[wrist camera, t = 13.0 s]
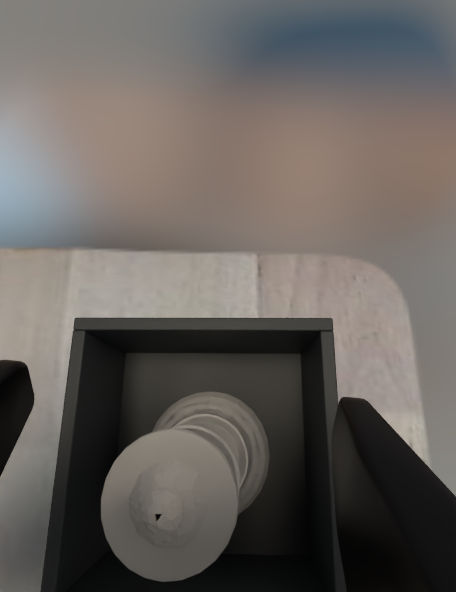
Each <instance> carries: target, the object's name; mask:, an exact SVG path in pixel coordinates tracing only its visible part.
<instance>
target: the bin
mask: <svg viewBox="0 0 456 592" xmlns="http://www.w3.org/2000/svg"><path fill="white" fill-rule="evenodd" d="M211 391H213V392H219V393H225V394H228V395H231V396H233V397H235V398H237V399H239V400H241V401H242V402H243V403H245V404H246V405H247V406H248V407H249V408H251V409H252V410H253V411H254V413H255V414H256V416H257V417H258V419H259V420H260V421H261V423H262V425H263V428H264V430H265V433H266V435H267V438H268V445H269V454H270V456H269V465H268V473H267V477H266V479H265V482H264V484H263V487H262V489H261V492H260V493H259V494H258V496H257V497H256V498H255V500H254V501H253V502H252V504H251V505H250V506H249V507H247V508H246V509H245V510H244V511H242V512H241V513H240V514H238V515H237V522H236V525H235V528H234V530H233V533H232V535H231V538H230V540H229V543H228V545H227V546H226V547H225V549H224V550H223V551H222V553H221V554H220V555H219V557H218V558H217V559H216V561H214V562H213V563H212V564H211V565H209V566H208V567H207V568H206V569H204V570H203V571H202V572H200V573H198V574H196V575H193V576H191V577H188V578H186V579H183V580H178V581H167V582H161V581H156V580H152V579H147V578H144V577H142V576H140V575H139V574H137V573H135V572H133V571H132V570H130V569H128V568H127V567H126V566H125V565H124V564H123V563H122V562H121V561H120V560H119V558H118V557H117V556H116V555H115V554H114V552H113V550H112V548H111V546H110V545H109V543H108V541H107V539H106V537H105V533H104V529H103V525H102V521H101V497H102V492H103V488H104V484H105V480H106V477H107V475H108V473H109V471H110V469H111V467H112V465H113V463H114V461H115V460H116V459H117V458H118V457H119V455H120V454H121V453H122V452H123V451H124V450H125V448H126V447H128V446H129V445H130V444H132V443H133V442H134V441H136V440H137V439H139V438H140V437H141V436H143V435H146V434H149V433H151V432H152V431H153V429H154V427H155V425H156V423H157V421H158V420H159V418H160V417H161V416H162V415H163V414H164V412H165V411H166V410H167V409H168V408H169V407H170V406H172V405H173V404H174V403H176V402H177V401H179V400H180V399H182V398H185V397H187V396H190V395H192V394H195V393H201V392H211ZM337 409H338V394H337V379H336V364H335V349H334V334H333V320H332V318H75V321H74V331H73V337H72V345H71V353H70V361H69V369H68V377H67V385H66V393H65V401H64V409H63V417H62V425H61V433H60V441H59V449H58V457H57V464H56V472H55V480H54V488H53V496H52V504H51V512H50V520H49V528H48V536H47V544H46V552H45V560H44V568H43V576H42V584H41V592H347V590H346V584H345V578H344V572H343V566H342V560H341V555H340V549H339V542H338V535H337V526H336V513H335V496H334V479H333V462H332V444H331V440H332V430H333V426H334V421H335V417H336V413H337Z"/></svg>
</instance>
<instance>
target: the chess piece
mask: <svg viewBox="0 0 456 592" xmlns="http://www.w3.org/2000/svg"><path fill="white" fill-rule="evenodd" d="M269 456H270V454H269V445H268V438H267V435H266V433H265V430H264V428H263V425H262V423H261V421H260V420H259V419H258V417H257V416H256V414H255V413H254V411H253V410H252V409H251V408H249V407H248V406H247V405H246V404H245V403H243V402H242V401H241V400H239V399H237V398H235V397H233V396H231V395H228V394H225V393H219V392H213V391H211V392H201V393H195V394H192V395H190V396H187V397H185V398H182V399H180V400H179V401H177V402H176V403H174V404H173V405H172V406H170V407H169V408H168V409H167V410H166V411H165V412H164V414H163V415H162V416H161V417H160V418H159V420H158V421H157V423H156V425H155V427H154V429H153V431H152V432H151V433H149V434H146V435H143V436H141V437H140V438H139V439H137V440H136V441H134V442H133V443H132V444H130V445H129V446H128V447H126V448H125V450H124V451H123V452H122V453H121V454H120V455H119V457H118V458H117V459H116V460H115V461H114V463H113V465H112V467H111V469H110V471H109V473H108V475H107V477H106V480H105V484H104V488H103V492H102V497H101V521H102V525H103V529H104V533H105V537H106V539H107V541H108V543H109V545H110V546H111V548H112V550H113V552H114V554H115V555H116V556H117V557H118V558H119V560H120V561H121V562H122V563H123V564H124V565H125V566H126V567H127V568H128V569H130V570H132V571H133V572H135V573H137V574H139V575H140V576H142V577H144V578H147V579H152V580H156V581H161V582H167V581H178V580H183V579H186V578H188V577H191V576H193V575H196V574H198V573H200V572H202V571H203V570H204V569H206V568H207V567H208V566H209V565H211V564H212V563H213V562H214V561H216V559H217V558H218V557H219V555H220V554H221V553H222V551H223V550H224V549H225V547H226V546H227V545H228V543H229V540H230V538H231V535H232V533H233V530H234V528H235V525H236V522H237V515H238V514H240V513H241V512H242V511H244V510H245V509H246V508H247V507H249V506H250V505H251V504H252V502H253V501H254V500H255V498H256V497H257V496H258V494H259V493H260V492H261V489H262V487H263V484H264V482H265V479H266V477H267V473H268V465H269Z"/></svg>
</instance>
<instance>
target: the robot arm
mask: <svg viewBox="0 0 456 592" xmlns="http://www.w3.org/2000/svg"><path fill="white" fill-rule="evenodd" d="M33 405H34V392H33V388H32V384H31V379H30V375H29V370H28V367H27V365H26V364H25V363H23V362H21V361H12V360H0V476H1V474H2V472H3V470H4V468H5V465H6V463H7V461H8V459H9V457H10V455H11V453H12V451H13V449H14V446H15V444H16V442H17V440H18V438H19V436H20V434H21V432H22V430H23V427H24V425H25V423H26V421H27V419H28V417H29V415H30V413H31V411H32V408H33ZM331 444H332V462H333V479H334V496H335V513H336V526H337V535H338V542H339V549H340V555H341V560H342V566H343V572H344V578H345V584H346V590H347V592H456V497H455V495H454V494H453V493H452V492H451V491H450V490H449V489H448V488H447V487H446V486H445V485H444V483H443V482H442V481H441V480H440V479H439V478H438V477H437V476H436V475H435V474H434V473H433V472H432V470H431V469H430V468H429V467H428V466H427V465H426V464H425V463H424V462H423V461H422V460H421V459H420V457H419V456H418V455H417V454H416V453H415V452H414V451H413V450H412V449H411V448H410V447H409V446H408V444H407V443H406V442H405V441H404V440H403V439H402V438H401V437H400V436H399V435H398V434H397V433H396V431H395V430H394V429H393V428H392V427H391V426H390V425H389V424H388V423H387V422H386V421H385V420H384V419H383V417H382V416H381V415H380V414H379V413H378V412H377V411H376V410H375V409H374V408H373V407H372V406H371V404H370V403H369V402H368V401H366V400H365V399H361V398H352V397H343V398H341V400H340V401H339V405H338V409H337V413H336V417H335V421H334V426H333V430H332V440H331Z"/></svg>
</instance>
